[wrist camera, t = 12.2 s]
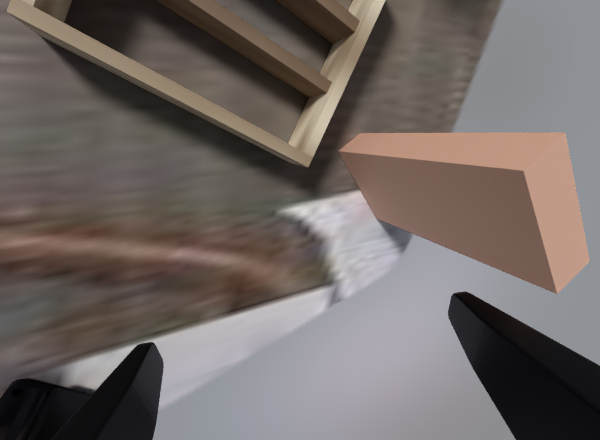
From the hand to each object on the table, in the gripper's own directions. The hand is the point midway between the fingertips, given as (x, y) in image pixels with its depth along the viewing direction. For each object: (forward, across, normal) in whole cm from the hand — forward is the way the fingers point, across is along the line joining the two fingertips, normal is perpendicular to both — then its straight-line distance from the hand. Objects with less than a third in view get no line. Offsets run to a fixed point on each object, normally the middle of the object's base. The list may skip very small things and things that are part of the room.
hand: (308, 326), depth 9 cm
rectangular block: (+13, -6, +1) cm, 15 cm away
